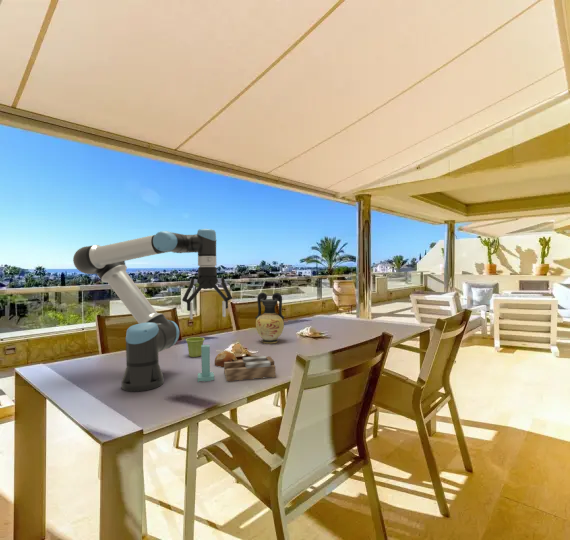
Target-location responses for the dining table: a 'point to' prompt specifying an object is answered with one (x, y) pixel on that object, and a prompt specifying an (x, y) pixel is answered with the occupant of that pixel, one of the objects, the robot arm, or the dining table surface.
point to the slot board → (249, 368)
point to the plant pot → (195, 346)
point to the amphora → (269, 318)
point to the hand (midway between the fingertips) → (207, 317)
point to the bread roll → (224, 358)
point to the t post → (205, 365)
